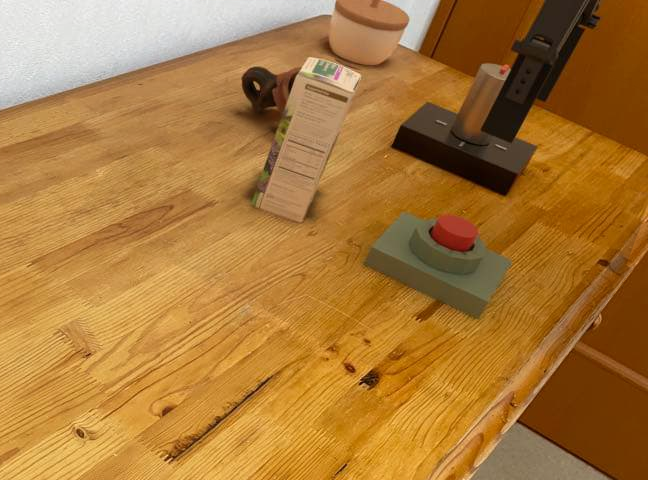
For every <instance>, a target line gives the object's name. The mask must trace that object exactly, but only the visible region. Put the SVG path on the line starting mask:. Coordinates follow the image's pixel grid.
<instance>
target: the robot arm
mask: <svg viewBox="0 0 648 480" xmlns="http://www.w3.org/2000/svg"><path fill="white" fill-rule="evenodd" d="M601 2H602V0H545V1H544V3H543V5H542V6H541V9H540V10H539V12H538V14H537V15H536V17H535V19H534V21H533V23H532V24H531V26H530V28H529V30H528V32H527V33H526V36H525V37H524V38H522V40H519V39H518V38H517V39H516V38H515V40H514V42H513V43H512V46H511V48H510V52H513V53H516V54H518V55H517V56H516V58H515V60H514V62H513V65H512V67H511V68H510V69H511V70H510V72H509V74H508V76H507V78H506V80H505V82H504V84H503V86H502V88H501V90H500V92H499V94H498V96H497V98H496V100H495V102H494V104H493V106H492V108H491V110H490V112H489V114H488V116H487V118H486V120H485V122H484V124H483V126H482V128H481V130H480V131H483V132H485V133H488V134H490V135H492V136H495V137H497V138H500V139H502V140H504V141H507V142H509V143H512V142H513V141H514V139H515V137H516V138H517V135H518V133H519V131H520V130H521V127H522V126H523V124H524V122H525V120H526V118H527V117H528V115H529V113H530V111H531V109H532V107H533V106H534V104H535V102H536V100H537V101H541V102H544V103H546V102H547V100H548V99H549V96H550V95H551V93H552V91H553V90H554V88H555V86H556V84H557V82H558V80H559V79H560V76H561V75H562V73H563V71H564V69H565V67H566V66H567V64H568V62H569V60H570V59H571V57H572V55H573V53H574V51H575V50H576V47H577V46H578V44H579V42H580V40H581V39H582V36H583V35H584V33H585V31H586V28H588V29H591V30H595V29H596V27H597V26H598V24H599V22H600V20H601V19H602V16H599V15H596V14H595V13H597V12H598V11H599V9H600V7H601V5H600V3H601ZM581 26H583V27H584V28H583V27H581Z"/></svg>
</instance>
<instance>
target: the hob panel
mask: <svg viewBox="0 0 648 480" xmlns="http://www.w3.org/2000/svg"><path fill="white" fill-rule="evenodd" d="M457 115H458V113H457V112H454V111H451V110H449V109H447V108H445V107H442V106H440V105H437V104H435V103H432V102H430V101H426V102H425V103H424V104H423V105H422V106H420V108H418V109H416V111H415V112H414V113H412V114H411V115H410V116H409V117H408V118H406V120H404V121H403V122H402V123H401V124H400V125H399V127H398V129H397V132H396V134H395V137H394V139H393V142H392V143H391V148H392V149H395V150H397V151H399V152H402V153H404V154H406V155H409V156H411V157H413V158H416V159H418V160H420V161H423V162H425V163H427V164H430V165H432V166H434V167H437V168H439V169H442V170H444V171H446V172H449V173H451V174H453V175H455V176H457V177H459V178H462V179H465V180H466V181H470V182H471V183H474V184H476V185H479V186H481V187H482V188H485V189H488V190H489V191H492V192H495V193H497V194H499V195H502V196H504V197H507V196H508V194H509V193H510V191H511V190H512V189H513V187H514V185H515V184H516V183H517V181H518V180H519V179H520V177H521V176H522V174H523V173H524V171H525V170H526V169H527V167H528V165H529V163H530V162H531V160H532V159H533V157H534V155H535V153H536V151H537V149H539V148H538V146H537V145H536V144H533V143H530V142H528V141H526V140H523V139H521V138H518V137H517V136H516V137H515V139H514V141H513V142H512V143H509V142H507V141H504V140H502V139H500V138H497V137H495V136H493V138H492V140H491V142H490V143H489V144H487V145H478V144H473V143H469V142H467V141H464V140H462V139H460V138H458V137H457V136H456V135H454V134H453V133H452V131H451V127H452V125H453V123H454V121H455V119H456V117H457Z"/></svg>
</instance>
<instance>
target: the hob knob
mask: <svg viewBox="0 0 648 480" xmlns="http://www.w3.org/2000/svg"><path fill="white" fill-rule="evenodd" d="M510 70H511V68H510V65H509V64H506V63H504V65H501V64H500V65H499V64H496V63H488V62H487V63H481V65H480V67H479V69H478V71H477V73H476V75H475V77H474V79H473V82H472V83H471V86H470V88H469V90H468V92H467V94H466V96H465V98H464V100H463V102H462V105H461V106H460V109H459V111H458V113H457V114H458V115H457V117H456V119H455V121H454V123H453V125H452V127H451V131H452V133H453V134H454V135H456V136H457V137H458V138H460V139H462V140H464V141H467V142H469V143H473V144H478V145H487V144H489V143H490V142H491V140H492V138H493V136H492V135H490V134H488V133H485V132H483V131H480V130H481V128H482V126H483V124H484V122H485V120H486V118H487V116H488V114H489V112H490V110H491V108H492V106H493V104H494V102H495V100H496V98H497V96H498V94H499V92H500V90H501V88H502V86H503V84H504V82H505V80H506V78H507V76H508V74H509V72H510Z"/></svg>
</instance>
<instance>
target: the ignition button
mask: <svg viewBox="0 0 648 480" xmlns="http://www.w3.org/2000/svg"><path fill="white" fill-rule="evenodd" d="M437 219H438V220H437V222H436V224H435V226H434V228H433V230H432V232H431V234H430V236H431V238H432V239H433V240H434V241H435V242H437V243H438V244H439V245H441V246H443V247H446V248H448V249H450V250H453V251H458V252H467V251H469V250H470V248H471V246H472V244H473V243H474V241H475V239H476V237H477V236H479V230H478V228H477V227H476V226H475V225H474V224H473V223H472V222H470V221H469V220H467V219H466V218H463V217H461V216H457V215H452V214H443V215H440V216H439V217H438V218H437Z"/></svg>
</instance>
